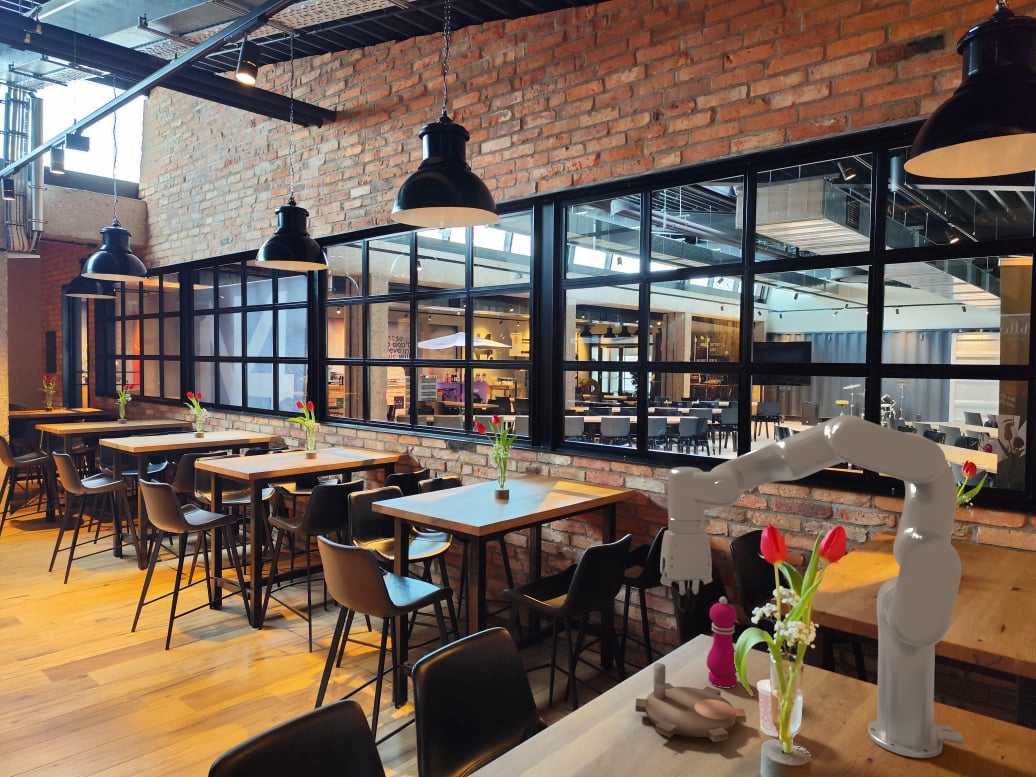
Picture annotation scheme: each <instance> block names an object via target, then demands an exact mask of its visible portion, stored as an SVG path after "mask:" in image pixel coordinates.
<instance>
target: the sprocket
mask: <svg viewBox="0 0 1036 777" xmlns="http://www.w3.org/2000/svg"><path fill="white" fill-rule="evenodd" d="M721 691H722V690H719V689H716V688H713V687H710V686H705V687H703V689H702V688H697V687H692V686H673V684H671V683H670V682H666V665H665V664H664V663H661V662H657V663H654V665H653V692H651V693H650V694H648V696H647V697H646V698H635V712H637V713H638V712H639V713H645V714H646V716H647V718H648V719H649V720H650V722H652V723H653V724H654V725H655V726H654V727H655V728H654V731H655V732H656V733H658V734H660V735H664V736H666V737H668V738H671V737H672V736H674V735H675V734H677V735H681V736H682V735H683V736H686V737H687V736H688V737H695V738H697V737H698V738H700V737H701V738H705V737H707V738H709V739H710V740H711V741H712V742H713V743H715V742H721V741H725V740H729V732H728V731H730V730H732V728H733V727H734V726H735V724H736V722H739V723H747V715H746V711H745V708H738V707H734V706H733V704H731V702H729V701H728V700H727V699H726V698H724V697H723V696H722V695H721V693H722V692H721Z"/></svg>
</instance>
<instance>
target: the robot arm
mask: <svg viewBox="0 0 1036 777" xmlns="http://www.w3.org/2000/svg"><path fill="white" fill-rule="evenodd" d="M844 462H847V463H849V464H851V465H854V466H858V467H860V468H863V469H866V470H868V471H873V472H875V473H879V474H881V475H885V476H888V477H891V478H895V479H898V480H902V481H903V482H904V487H905V489H904V490H905V492H904V493H905V495H904V502H903V509H902V511H901V512H902V513H901V516H900V519H899V520H900V521H899V525H898V528H897V532H896V535H895V536H896V537H895V539H894V542H893V547H892V553H893V557H894V559H895V563H896V564H897V565H898V566H899V571H898V576H895V577H892V578H890V579H888V580H886V581H885V582H884V583H883V584H882V585H881V586H880V588H879V590H878V593H877V597H876V615H877V618H876V619H877V633H878V634H877V635H878V636H877V638H878V646H877V647H878V648H877V650H878V651H877V652H878V654H877V655H878V656H877V702H876V703H877V704H876V706H877V707H876V709H877V711H876V714H877V715H876V717H877V718H876V719H875V720H873V721H871V722H870V723H869V724H868V728H867V732H868V736H869V738H870V739H871V740H872V741H873V742H874V743H875V744H877V745H878V746H880V747H881V748H883V749H885V750H887V751H889V752H892V753H895V754H898V755H901V756H904V757H909V758H916V759H928V758H929V759H930V758H935V757H937V756H939V755H940V754H942V751H943V743H944V742H948V743H949V742H950V743H953V744H958V745H963V743H964V739H963V734H962V732H957V731H953V728H952V726H948V725H947V726H946V725H938V723H936V722H935V720H934V719H935V718H934V713H935V712H934V711H935V710H934V708H935V668H936V667H935V666H936V665H935V664H936V663H935V658H936V655H935V654H936V653H935V652H936V650H935V649H936V648H935V645H936V644H938V643H940V641H942V639H943V638H944V637H945V635H946V634H947V631H948V629H949V627H950V623H951V620H952V615H953V611H954V608H955V604H956V600H957V595H958V592H959V588H960V584H961V579H962V561H961V558H960V555H959V553H958V551H957V549H956V548H955V547H954V546H953V545H952V544H951V536H952V531H953V527H954V524H955V516H956V511H957V504H958V487H957V482H956V478H955V475H954V473H953V470H952V468H951V465H950V464H949V463H948V460H947V459H946V455H945V453H944V450H943V449H942V447H941V446H940V445H938V443H936V442H935V441H933V440H932V439H929V438H927V437H926V436H923V435H921V434H919V433H914V432H911V431H910V432H903V431H900V430H897V429H893V428H890V427H887V426H883V425H880V424H877V423H874V422H871V421H868V420H866V419H863V418H861V417H859V416H857V415H853V414H841V415H839V416H836V417H833V418H831V419H828V420H826V421H824V422H820V423H818V424H815V425H814V426H812V427H809V428H807V429H804V430H802V431H800V432H797V433H795V434H792V435H790V436H788V437H787V436H786V437H785V438H782V439H780V440H778V441H775V442H772V443H769V444H768V445H765V446H763V447H760V448H757V449H755V450H752V451H750V452H746V453H744V454H741V455H739V456H737V457H735V458H732V459H729V460H727V461H725V462H722V463H721V464H718V465H716V466H714V467H713V468H712V469H711V470H710V471H704V470H702V469H700V468H698V467H692V466H678V467H672V468H671V469H670V470H669V472H668V480H667V483H668V487H667V488H668V489H667V493H668V495H667V496H668V497H667V498H668V499H667V500H668V501H667V502H668V504H667V505H668V506H667V510H668V511H667V512H668V518H667V519H668V521H667V522H668V529H667V530H664V533H663V537H662V542H661V548H660V549H661V552H660V559H659V560H660V564H659V567H660V569H659V570H660V574H661V578H660V583H661V584H662V585H664V586H666V587H672V588H673V589H674V590H675V591H676V592H677V593H676V594H677V595H676V597H677V598H676V601H677V602H676V604H677V605H676V606H677V608H678V609H679V611H680V612H682V613H683V614H684V615H685V614H688V612H689V613H691V614H694V613H695V608H696V607H697V602H696V601H697V599H696V598H697V594H698V593H699V590H700V589H701V588H702V587H703V586H704V585H706V584H709V583H712V582H713V577H712V570H713V567H712V551H711V544H710V543H711V542H710V538H709V534H708V532H707V531H706V529H707V528H706V527H709V526H711V524H712V523H711V519H707V518H706V517H705V516H706V515H705V514H706V510H705V508H706V505H709V506H714V507H719V508H720V507H721V508H728V507H731V506H734V505H735V504H737V503H738V502H739V501H740V500H741V498H742V494H743V493H745V492H747V491H750V490H752V489H753V490H754V489H755V488H757V487H758V488H759V487H760V486H763V485H766V484H769V483H773V482H779V481H780V482H781V481H785V482H786V481H796V480H800V479H803V478H806V477H808V476H811V475H813V474H815V473H817V472H819V471H822V470H825V469H828V468H830V467H833V466H835V465H839V464H840V463H844ZM685 581H687V589H686V588H685V587H686V586H685Z"/></svg>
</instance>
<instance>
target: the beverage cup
mask: <svg viewBox="0 0 1036 777" xmlns="http://www.w3.org/2000/svg"><path fill="white" fill-rule="evenodd" d="M770 680H771V679H761V680H758V681H757V683H756V687H757V688H756V689H757V691H758V704H759V705H758V706H759V721H760V722H759V723H760V731H761V732H762V731H763V732H762V733H763V734H765V735H767V736H770V737H778V733H777V731H776V730H775V729H774V727H773V724H772V715H771V693H770V692H771V685H770ZM778 738H779V737H778Z"/></svg>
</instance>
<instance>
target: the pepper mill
mask: <svg viewBox="0 0 1036 777" xmlns="http://www.w3.org/2000/svg"><path fill="white" fill-rule="evenodd" d="M718 600H719V602H716V603H714V604H713V605H712V606H711V607H710V610H709V618H710V620H711V622H712V623H711V631H713V641H712V645H711V648H710V650H709V651H708V653H707V657H706V666H707V669H708V670H709V671H708V682H709V681H710V682H711V683H712V684H713V685H716V686H721V687H732V686H734V685H736V683H737V684H738V676H737V675H736V674H737V673H738V671H736V668H735V664H734V652H736V650H735V647H734V645H733V634H734V633H735V625H734V623H735V622H736V621H737V620H738V616H737V615H738V614H737V611H736V609H735V607H734V606H733V605H732V604H730V603H728V599H727V597H725V596H721V597H720V598H719V599H718ZM710 682H709V683H710ZM711 683H710V684H711ZM712 684H711V685H712ZM713 685H712V686H713ZM716 686H715V687H716ZM736 686H737V685H736Z"/></svg>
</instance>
